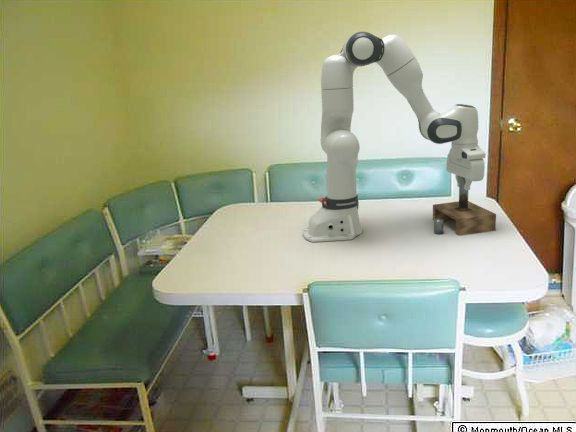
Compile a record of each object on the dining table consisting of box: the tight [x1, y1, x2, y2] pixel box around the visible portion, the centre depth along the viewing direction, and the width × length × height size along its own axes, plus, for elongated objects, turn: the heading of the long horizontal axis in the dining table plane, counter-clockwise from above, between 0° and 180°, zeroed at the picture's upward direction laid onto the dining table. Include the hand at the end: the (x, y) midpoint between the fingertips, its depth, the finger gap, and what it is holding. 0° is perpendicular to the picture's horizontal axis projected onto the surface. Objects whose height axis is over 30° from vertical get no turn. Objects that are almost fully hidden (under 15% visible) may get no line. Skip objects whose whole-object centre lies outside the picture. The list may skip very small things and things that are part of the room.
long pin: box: [458, 176, 469, 208], centre depth 176 cm, size 3×3×14 cm
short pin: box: [433, 218, 444, 235], centre depth 173 cm, size 3×3×5 cm
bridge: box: [432, 200, 497, 236], centre depth 180 cm, size 14×20×6 cm
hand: (463, 188), depth 176 cm, fingers closed on long pin, 3 cm apart
